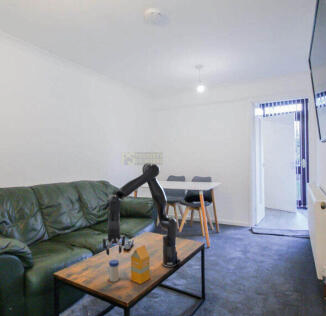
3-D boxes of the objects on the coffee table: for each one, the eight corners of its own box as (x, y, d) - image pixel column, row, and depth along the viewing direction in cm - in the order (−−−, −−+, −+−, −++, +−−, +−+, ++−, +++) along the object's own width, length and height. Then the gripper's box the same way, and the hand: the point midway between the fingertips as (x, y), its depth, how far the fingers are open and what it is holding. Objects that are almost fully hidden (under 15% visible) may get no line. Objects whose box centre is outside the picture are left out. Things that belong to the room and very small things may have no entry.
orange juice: (131, 280, 151) (130, 247, 151) (140, 275, 157) (139, 243, 158) (140, 284, 146) (140, 250, 146) (149, 278, 152) (149, 246, 153)
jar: (117, 276, 155) (116, 260, 155) (119, 280, 150) (119, 263, 150) (108, 278, 153) (108, 261, 153) (110, 282, 148) (110, 264, 148)
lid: (117, 262, 155) (117, 259, 155) (119, 265, 150) (119, 262, 150) (108, 263, 153) (108, 260, 153) (110, 267, 148) (110, 264, 148)
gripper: (104, 229, 145) (104, 257, 145) (126, 227, 151) (126, 254, 151) (101, 226, 152) (101, 253, 152) (123, 224, 158) (123, 250, 158)
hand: (114, 253), depth 151 cm, fingers open, 7 cm apart
